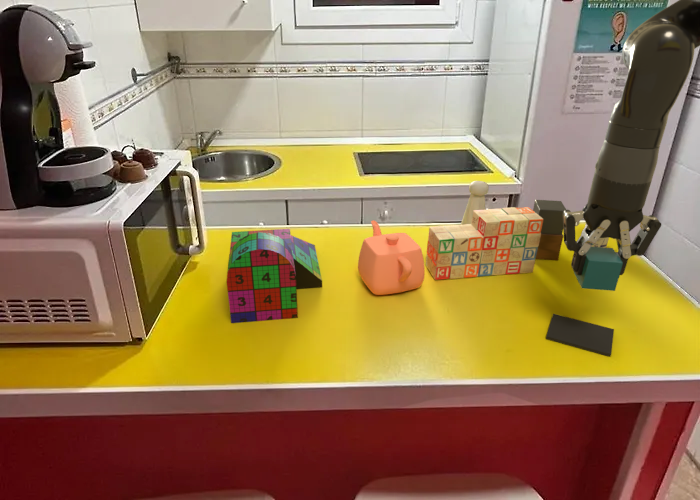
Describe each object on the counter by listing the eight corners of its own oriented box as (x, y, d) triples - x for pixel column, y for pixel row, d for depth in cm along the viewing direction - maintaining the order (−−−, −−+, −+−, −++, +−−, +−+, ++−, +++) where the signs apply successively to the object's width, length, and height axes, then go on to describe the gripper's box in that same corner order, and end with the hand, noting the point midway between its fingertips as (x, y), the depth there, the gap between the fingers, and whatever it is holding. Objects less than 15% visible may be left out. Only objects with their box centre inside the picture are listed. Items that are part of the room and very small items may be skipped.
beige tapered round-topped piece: (465, 240, 120) (472, 188, 114) (456, 230, 125) (462, 179, 119) (489, 238, 121) (497, 186, 115) (478, 228, 126) (485, 177, 120)
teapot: (378, 310, 94) (380, 260, 90) (346, 264, 110) (346, 219, 105) (435, 299, 98) (440, 250, 93) (396, 256, 113) (398, 212, 108)
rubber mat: (613, 331, 89) (614, 329, 89) (610, 357, 83) (611, 354, 83) (552, 316, 93) (553, 313, 93) (545, 339, 87) (546, 336, 87)
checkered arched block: (328, 315, 93) (327, 244, 86) (231, 323, 91) (223, 251, 84) (314, 250, 115) (313, 190, 108) (236, 255, 112) (230, 194, 106)
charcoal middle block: (556, 224, 114) (561, 200, 112) (562, 234, 109) (567, 210, 107) (530, 222, 115) (534, 199, 112) (535, 233, 110) (539, 209, 107)
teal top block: (605, 274, 85) (612, 248, 83) (614, 291, 81) (623, 263, 79) (573, 272, 86) (580, 245, 83) (581, 288, 81) (588, 260, 79)
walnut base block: (552, 247, 117) (557, 223, 114) (558, 260, 112) (563, 235, 109) (524, 246, 118) (529, 222, 115) (529, 258, 113) (534, 233, 110)
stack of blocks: (434, 281, 104) (440, 225, 98) (425, 266, 109) (429, 212, 103) (533, 272, 107) (544, 218, 101) (519, 258, 113) (529, 205, 107)
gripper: (578, 178, 72) (554, 283, 80) (687, 184, 71) (652, 290, 79) (565, 162, 79) (544, 259, 87) (665, 167, 77) (634, 266, 85)
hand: (595, 274), depth 83 cm, fingers closed on teal top block, 5 cm apart
